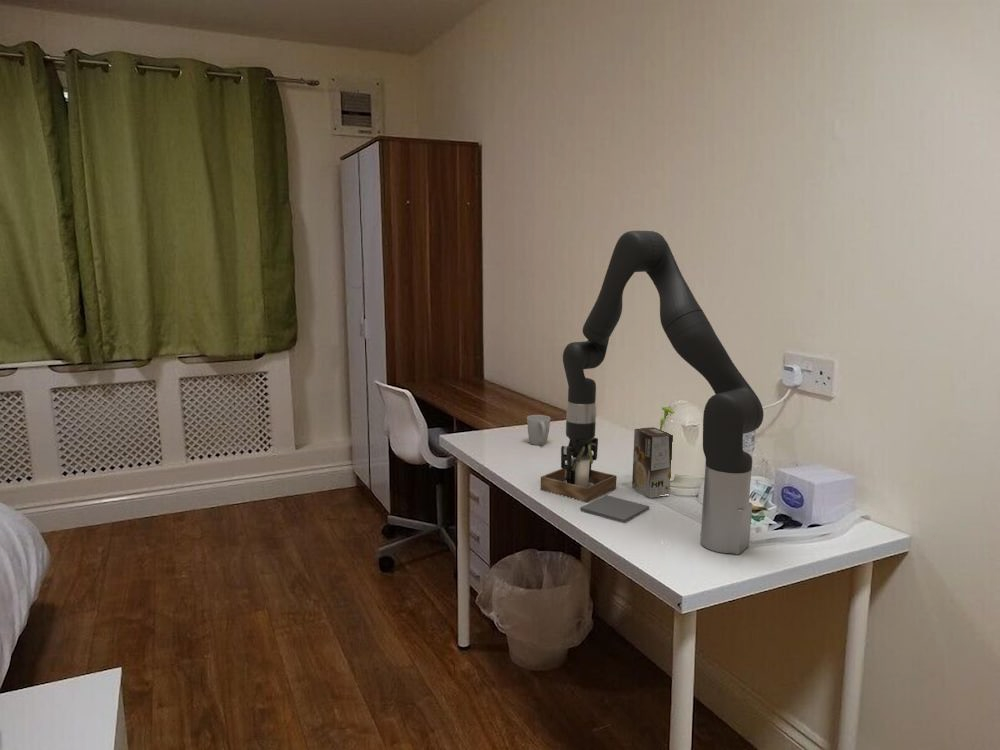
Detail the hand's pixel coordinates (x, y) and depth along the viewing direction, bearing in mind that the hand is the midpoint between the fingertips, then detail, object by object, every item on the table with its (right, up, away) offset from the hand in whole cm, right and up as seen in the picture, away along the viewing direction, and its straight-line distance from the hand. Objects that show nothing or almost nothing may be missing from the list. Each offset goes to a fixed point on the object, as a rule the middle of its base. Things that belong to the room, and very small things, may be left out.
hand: (578, 480), depth 186 cm
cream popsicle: (0, -2, 0) cm, 2 cm away
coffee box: (+19, -3, 0) cm, 19 cm away
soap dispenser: (+25, -1, +10) cm, 27 cm away
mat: (+7, -5, -14) cm, 17 cm away
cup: (-8, +5, +44) cm, 45 cm away
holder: (0, -2, 0) cm, 2 cm away
